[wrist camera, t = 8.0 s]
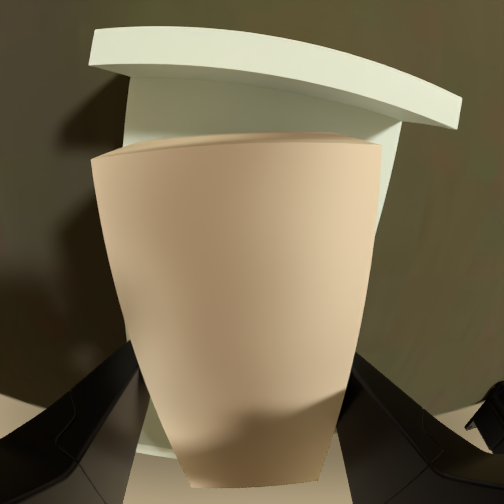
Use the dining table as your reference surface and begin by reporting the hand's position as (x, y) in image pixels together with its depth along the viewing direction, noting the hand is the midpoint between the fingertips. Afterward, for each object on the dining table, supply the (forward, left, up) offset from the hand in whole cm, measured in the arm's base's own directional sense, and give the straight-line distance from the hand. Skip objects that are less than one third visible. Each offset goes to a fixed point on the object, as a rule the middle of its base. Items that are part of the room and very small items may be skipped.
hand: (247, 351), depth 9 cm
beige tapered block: (0, 0, -1) cm, 1 cm away
